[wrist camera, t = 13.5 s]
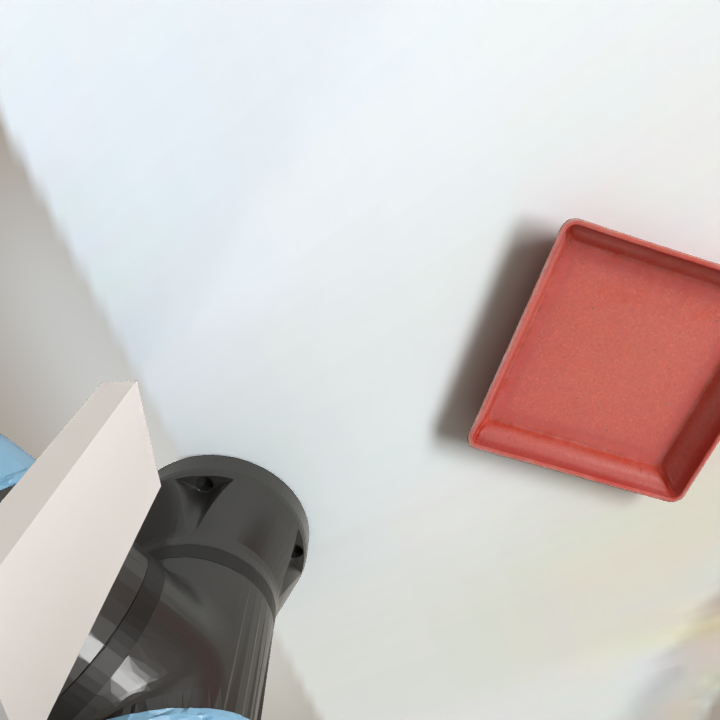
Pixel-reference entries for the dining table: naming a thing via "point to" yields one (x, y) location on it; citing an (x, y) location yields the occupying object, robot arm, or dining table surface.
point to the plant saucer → (612, 366)
